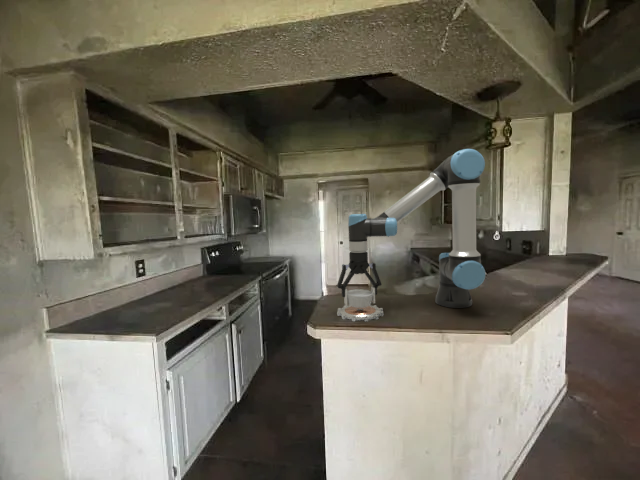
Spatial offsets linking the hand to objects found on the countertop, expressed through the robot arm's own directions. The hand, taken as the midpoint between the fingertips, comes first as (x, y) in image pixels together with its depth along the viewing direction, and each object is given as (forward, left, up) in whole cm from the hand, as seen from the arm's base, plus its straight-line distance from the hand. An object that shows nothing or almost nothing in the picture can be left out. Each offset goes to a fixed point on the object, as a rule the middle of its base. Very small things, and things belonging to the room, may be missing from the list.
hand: (359, 303), depth 132 cm
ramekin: (0, 0, -1) cm, 1 cm away
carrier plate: (0, 0, -4) cm, 4 cm away
